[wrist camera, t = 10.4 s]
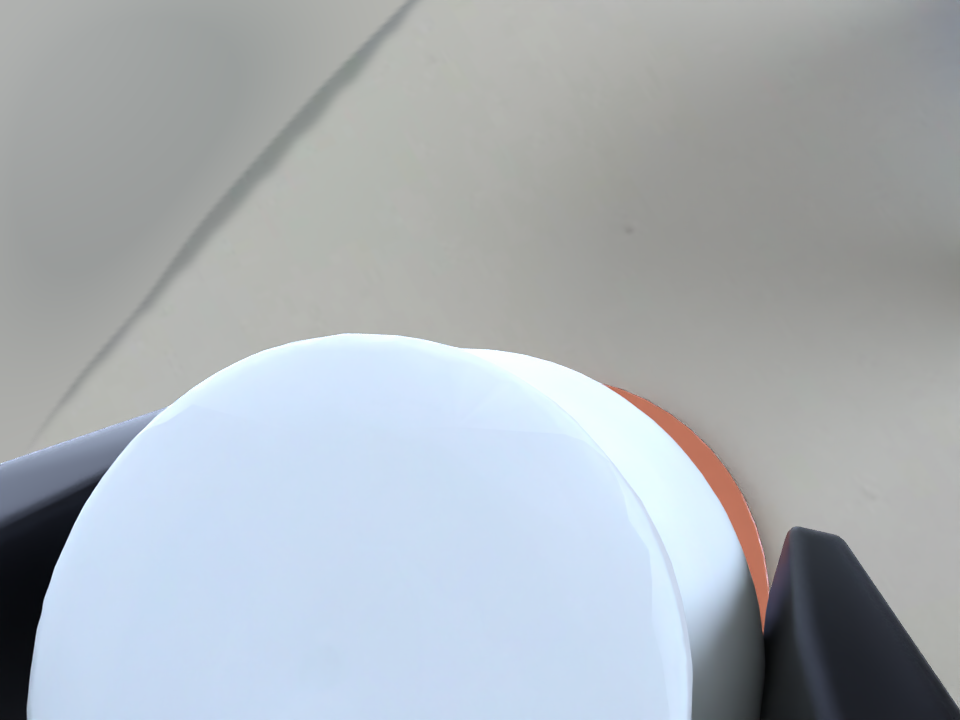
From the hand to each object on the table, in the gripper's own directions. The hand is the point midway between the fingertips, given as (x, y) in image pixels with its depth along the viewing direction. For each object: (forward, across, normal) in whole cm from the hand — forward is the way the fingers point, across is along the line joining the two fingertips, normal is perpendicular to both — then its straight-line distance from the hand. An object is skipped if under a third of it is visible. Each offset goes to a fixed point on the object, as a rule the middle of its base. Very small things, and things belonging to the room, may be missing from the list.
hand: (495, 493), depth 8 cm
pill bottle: (+4, 0, +6) cm, 7 cm away
